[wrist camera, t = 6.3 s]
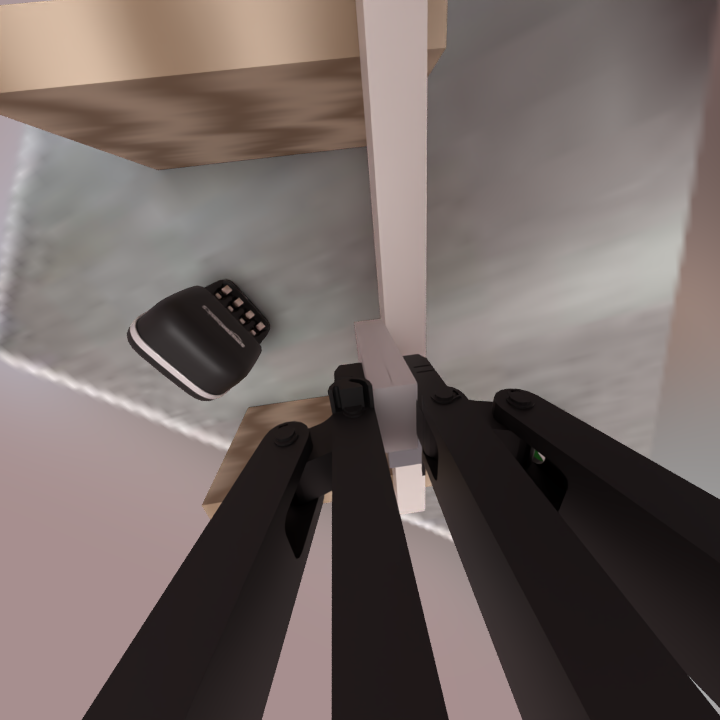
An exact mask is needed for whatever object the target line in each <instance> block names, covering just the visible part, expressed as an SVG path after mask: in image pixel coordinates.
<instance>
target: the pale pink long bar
mask: <svg viewBox="0 0 720 720" xmlns="http://www.w3.org/2000/svg"><path fill="white" fill-rule="evenodd" d="M356 13H357V25H358V38H359V51H360V64H361V77H362V89H363V102H364V115H365V128H366V141H367V153H368V166H369V179H370V192H371V204H372V217H373V230H374V243H375V256H376V268H377V281H378V294H379V307H380V319H381V318H382V320H383V322H384V324H385V326H386V327H387V329H388V331H389V333H390V335H391V336H392V338H393V340H394V342H395V344H396V345H397V347H398V349H399V351H400V353H401V354H402V356H406V355H413V354H419V355H421V356H423V357H425V358H426V220H427V20H428V0H356ZM386 454H387V459H388V463H389V467H390V468H392V473H393V486H394V492H395V496H396V500H397V504H398V508H399V513H400V515H401V514H407V513H413V512H419V511H425V476H422V446H421V444H420V441H419V439H418V448H415V449H408V450H401V451H395V452H388V453H386Z"/></svg>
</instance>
